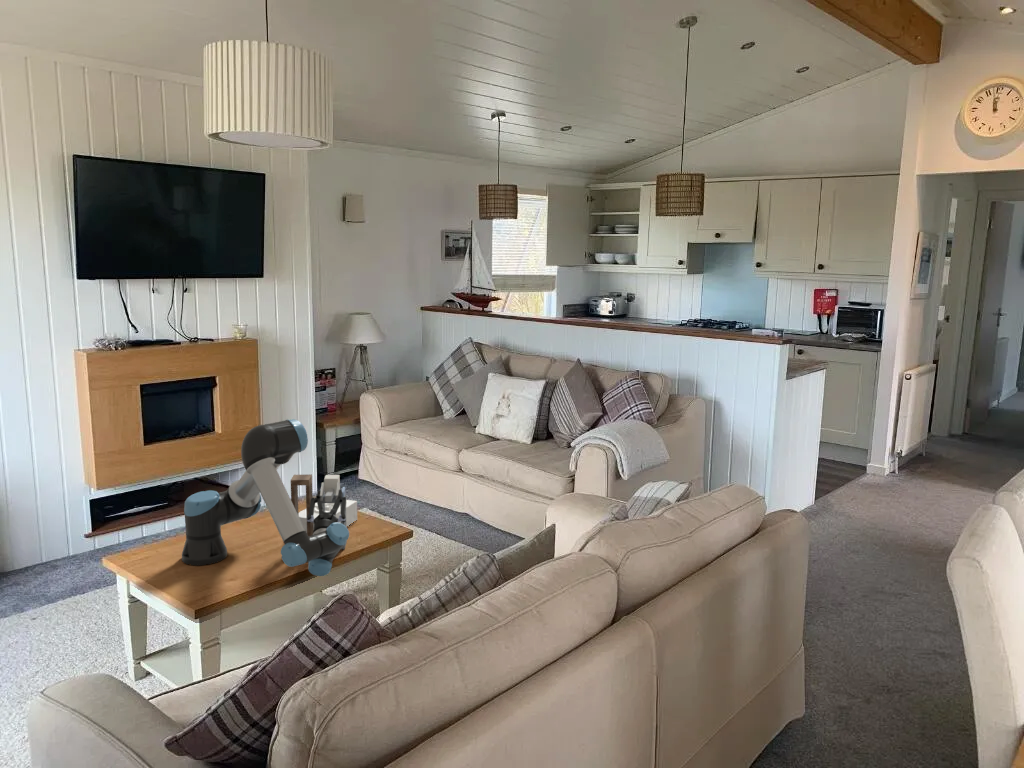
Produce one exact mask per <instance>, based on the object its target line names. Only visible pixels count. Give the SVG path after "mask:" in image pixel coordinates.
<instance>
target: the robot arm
mask: <svg viewBox="0 0 1024 768" xmlns="http://www.w3.org/2000/svg"><path fill="white" fill-rule="evenodd" d="M307 433H308V432H307V430H306V428H305V426H304V424H303V423H302V422H301V421H300V420H297V419H294V418H293V419H288V418H287V419H285V420H281V421H277V422H276V421H275V422H271V423H266V424H265V423H264V424H259V425H257V426H254V427H252V428H251V429H249V430H248V431H247V432H246V434H245V436H244V437H243V440H242V442H241V446H240V447H241V448H240V449H241V450H240V454H241V461H242V465H243V467H244V470H245V471H244V472H243V474H242V475H241V477H240V478H239V479H238V480H235V481H233V482H232V483H230V485H229V486H228V488H227V490H225V491H222V492H221V491H220V492H218V491H217V490H211V489H209V490H205V491H204V490H203V491H198V492H195V493H194V494H191V495H190V496H188V497H187V498H186V500H185V501H184V508H183V512H184V522H185V523H184V525H185V542H184V546H183V549H182V553H181V561H182V563H183V562H184V563H183V564H185V563H186V564H185V565H188V564H191V565H190V566H205V565H206V564H208V565H212V564H211V563H213V564H216V563H219V562H221V561H223V560H225V559H226V557H228V548H227V547H226V544H225V541H224V539H223V536H222V530H221V529H222V527H221V526H223V525H227V524H230V523H234V522H237V521H241V520H244V519H248V518H251V517H254V516H255V515H256V514H258V512H260V509H261V506H262V500H263V501H264V503H265V505H266V508H267V509H268V511H269V514H270V516H271V518H272V521H273V523H274V525H275V527H276V529H277V532H278V534H279V536H280V537H281V539H282V542H283V545H282V547H281V549H280V555H281V560H282V561H283V563H284V564H285V565H286V566H287V567H290V568H293V567H296V566H300V565H304V564H306V563H308V567H307V568H308V569H307V570H308V572H309V573H310V574H312V575H313V576H316V577H323V576H326V575H328V574H330V572H331V570H332V567H333V561H334V559H335V558H336V557H337V555H338V553H339V552H340V551H341V550H342V549H341V548H342V547H343V546H344V545H345V543H346V541H347V542H348V539H349V538H350V530H349V529H348V527H346V526H345V525H344V524H342V523H339V522H341V521H342V522H346V518H345V510H346V500H347V496H346V497H342V489H341V481H340V482H337V490H336V501H335V504H334V506H333V508H332V509H331V511H330V512H323V510H322V505H321V501H323V495H324V494H325V493H324V481H323V482H321V487H320V489H321V490H317V493H316V497H313V498H311V503H310V510H309V514H308V516H307V523H310V522H313V523H314V531H313V535H311V536H308V534H307V533H306V530H305V528H304V526H303V524H302V522H301V520H300V518H299V516H298V514H297V512H296V510H295V507H294V505H293V503H292V501H291V496H290V495H289V494H288V491H287V489H286V487H285V485H284V483H283V482H284V481H283V480H282V479H281V476H280V474H279V472H278V469H279V468H280V466H281V465H285V464H287V463H288V462H289V461H290V460H291V459H292V457H293V456H294V455H295V454H297V453H302V452H303V451H306V449H307V447H308V442H309V440H308V439H309V438H308V434H307ZM315 503H317V504H318V510H319V515H318V516H317V517H316V518H315V519H314V516H313V515H314V508H315ZM341 503H342V506H341V515H340V516H339V518H337V517H336V516H335V515H336V512H337V510H338V508H339V506H340V504H341ZM346 544H347V543H346ZM218 561H219V562H218ZM215 562H216V563H215ZM206 566H207V565H206Z"/></svg>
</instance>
